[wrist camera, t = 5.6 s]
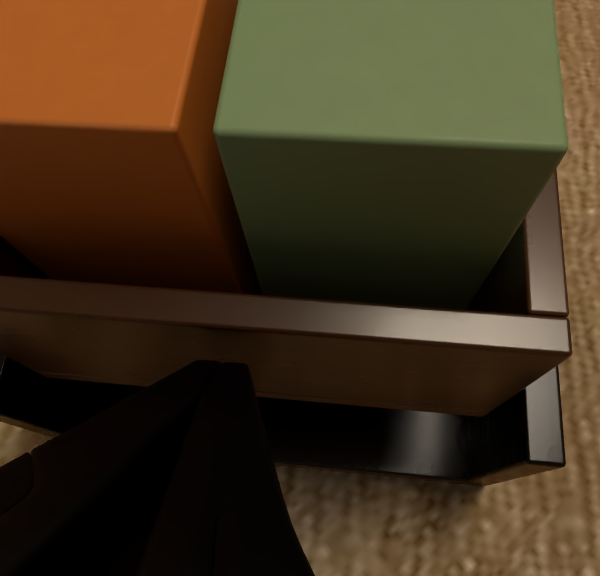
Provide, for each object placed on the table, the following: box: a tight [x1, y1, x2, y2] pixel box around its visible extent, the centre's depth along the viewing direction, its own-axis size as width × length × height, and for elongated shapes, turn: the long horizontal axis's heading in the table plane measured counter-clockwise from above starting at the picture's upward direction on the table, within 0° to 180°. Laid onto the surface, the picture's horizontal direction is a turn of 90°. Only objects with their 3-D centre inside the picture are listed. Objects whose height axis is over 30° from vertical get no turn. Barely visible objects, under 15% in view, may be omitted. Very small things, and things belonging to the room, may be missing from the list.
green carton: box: [213, 0, 568, 310], centre depth 9 cm, size 4×4×9 cm
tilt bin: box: [0, 169, 572, 417], centre depth 12 cm, size 7×10×5 cm
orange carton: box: [0, 0, 259, 295], centre depth 10 cm, size 4×4×9 cm
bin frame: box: [0, 354, 566, 486], centre depth 16 cm, size 8×13×6 cm, turn 84°
